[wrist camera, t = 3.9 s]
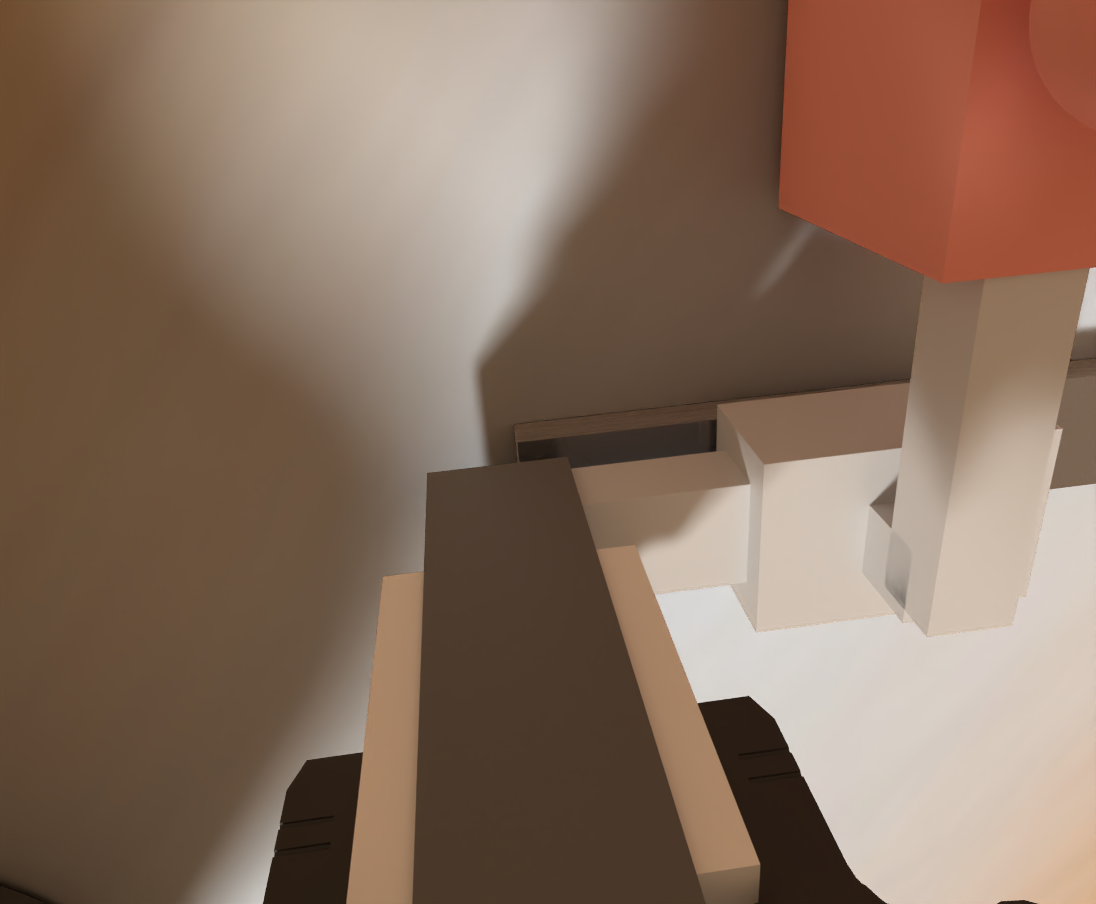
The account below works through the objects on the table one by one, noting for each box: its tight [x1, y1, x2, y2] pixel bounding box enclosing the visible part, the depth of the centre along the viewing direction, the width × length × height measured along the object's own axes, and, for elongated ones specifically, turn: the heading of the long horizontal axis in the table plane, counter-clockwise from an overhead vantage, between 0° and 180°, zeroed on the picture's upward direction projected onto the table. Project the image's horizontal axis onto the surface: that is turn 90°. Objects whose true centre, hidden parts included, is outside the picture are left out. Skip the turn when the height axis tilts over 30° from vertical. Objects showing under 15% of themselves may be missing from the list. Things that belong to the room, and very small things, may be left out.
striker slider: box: [412, 0, 1096, 904], centre depth 12 cm, size 12×15×14 cm
